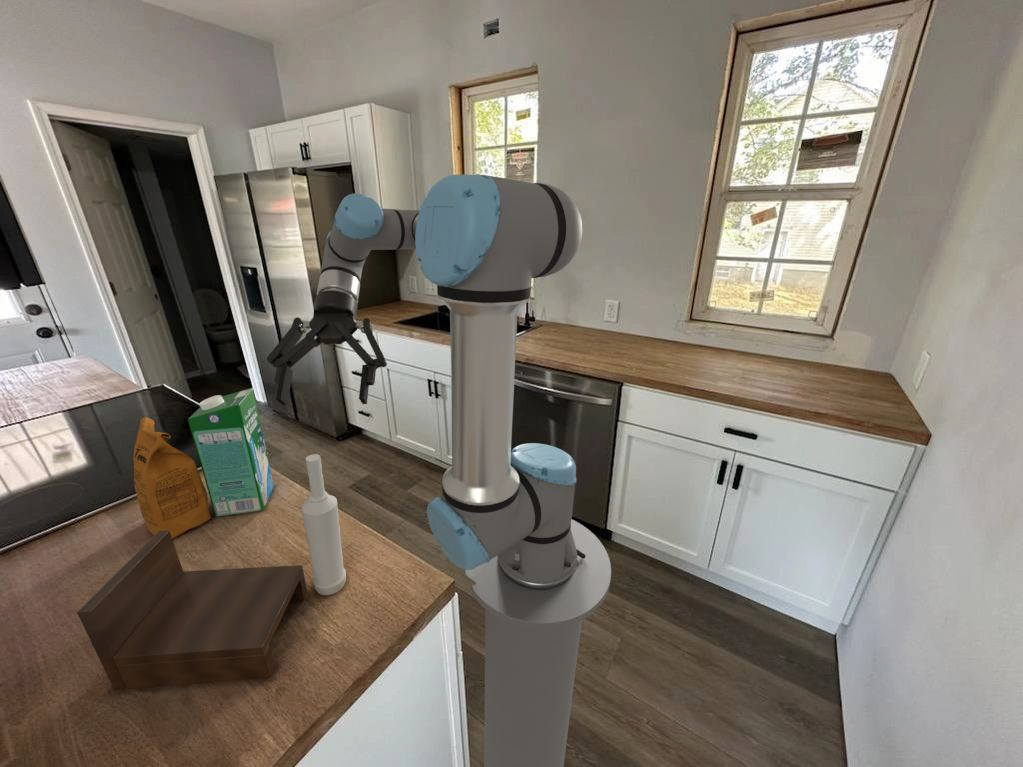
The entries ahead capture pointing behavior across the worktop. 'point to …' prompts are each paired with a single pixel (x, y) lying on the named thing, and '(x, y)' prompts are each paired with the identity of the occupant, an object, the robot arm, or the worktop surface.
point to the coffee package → (167, 484)
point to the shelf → (187, 619)
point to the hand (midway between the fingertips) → (322, 402)
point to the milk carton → (232, 453)
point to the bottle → (323, 532)
